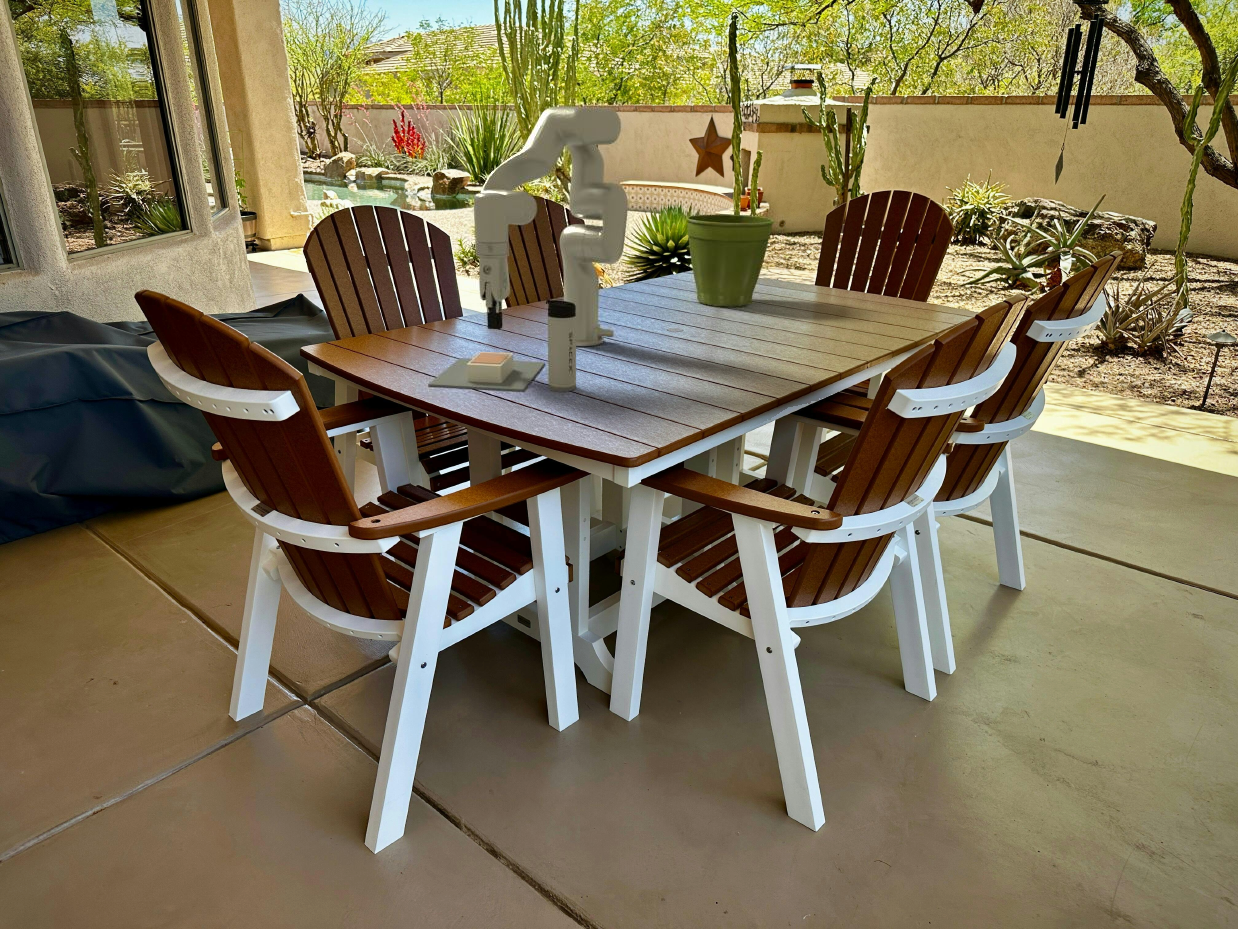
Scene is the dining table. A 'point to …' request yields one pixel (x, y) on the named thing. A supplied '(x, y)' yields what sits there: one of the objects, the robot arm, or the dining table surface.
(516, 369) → the mat
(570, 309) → the travel mug
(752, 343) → the dining table surface
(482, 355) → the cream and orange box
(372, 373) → the dining table surface
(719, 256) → the plant pot
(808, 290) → the dining table surface
